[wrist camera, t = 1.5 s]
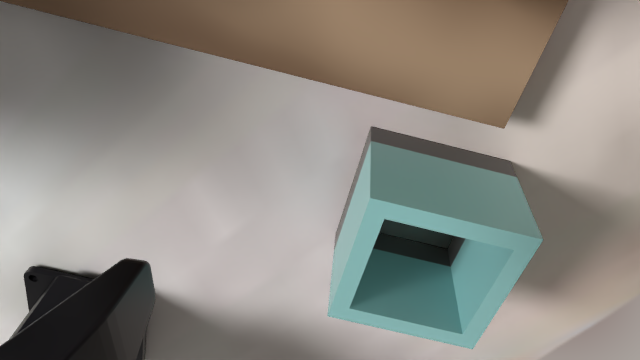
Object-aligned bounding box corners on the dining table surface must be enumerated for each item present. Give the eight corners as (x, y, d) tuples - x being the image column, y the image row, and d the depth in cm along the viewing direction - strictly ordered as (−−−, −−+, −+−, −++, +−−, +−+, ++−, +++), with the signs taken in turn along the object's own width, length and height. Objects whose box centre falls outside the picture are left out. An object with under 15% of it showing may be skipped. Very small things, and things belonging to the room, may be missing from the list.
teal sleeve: (456, 263, 24) (472, 349, 20) (335, 234, 24) (327, 316, 20) (510, 161, 21) (543, 239, 17) (370, 126, 21) (370, 197, 17)
